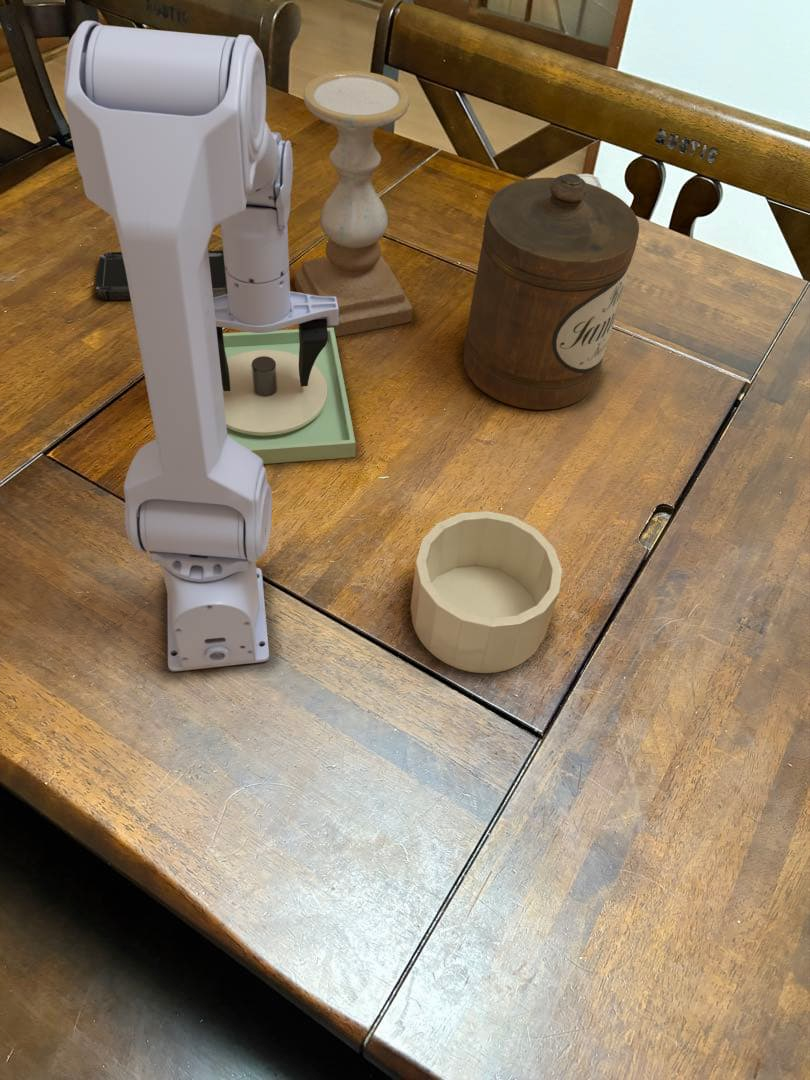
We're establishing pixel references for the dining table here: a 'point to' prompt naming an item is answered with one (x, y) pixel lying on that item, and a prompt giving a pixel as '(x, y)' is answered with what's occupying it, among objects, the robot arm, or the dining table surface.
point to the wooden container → (547, 290)
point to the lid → (271, 393)
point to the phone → (116, 285)
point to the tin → (484, 591)
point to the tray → (321, 435)
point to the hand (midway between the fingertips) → (265, 382)
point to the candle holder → (355, 204)
